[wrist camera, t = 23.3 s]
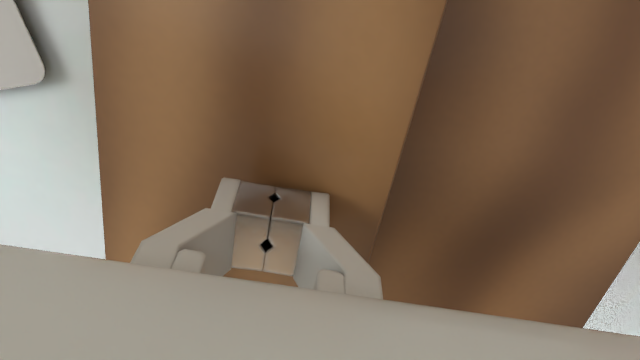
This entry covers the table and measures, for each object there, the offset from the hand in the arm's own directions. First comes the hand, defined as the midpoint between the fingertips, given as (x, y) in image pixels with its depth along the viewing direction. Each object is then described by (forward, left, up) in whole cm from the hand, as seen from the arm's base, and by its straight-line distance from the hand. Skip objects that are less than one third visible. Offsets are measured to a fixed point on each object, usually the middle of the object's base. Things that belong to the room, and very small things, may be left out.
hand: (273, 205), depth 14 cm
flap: (-1, 0, -1) cm, 2 cm away
